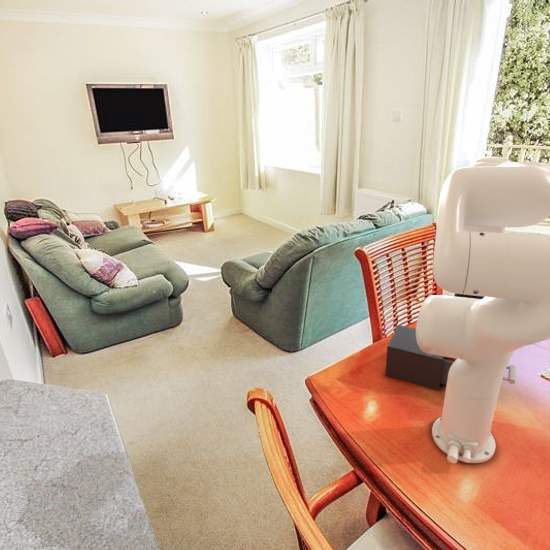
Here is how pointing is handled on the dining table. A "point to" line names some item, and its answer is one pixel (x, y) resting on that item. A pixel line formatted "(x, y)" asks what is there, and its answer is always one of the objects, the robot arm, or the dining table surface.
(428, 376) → the dark grey box
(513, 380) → the basket
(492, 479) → the dining table surface
